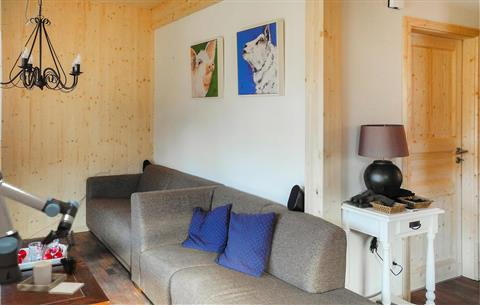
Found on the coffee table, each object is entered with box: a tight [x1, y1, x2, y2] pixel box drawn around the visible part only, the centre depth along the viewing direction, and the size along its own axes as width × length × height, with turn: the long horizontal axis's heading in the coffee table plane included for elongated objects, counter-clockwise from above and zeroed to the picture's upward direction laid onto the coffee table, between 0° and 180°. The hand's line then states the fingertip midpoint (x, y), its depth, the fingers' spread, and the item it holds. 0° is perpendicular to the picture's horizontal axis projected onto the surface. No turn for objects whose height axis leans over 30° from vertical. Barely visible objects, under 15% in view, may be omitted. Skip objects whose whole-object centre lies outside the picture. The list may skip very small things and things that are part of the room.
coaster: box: [48, 281, 85, 296], centre depth 223 cm, size 13×13×1 cm
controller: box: [59, 256, 77, 274], centre depth 248 cm, size 4×12×10 cm, turn 57°
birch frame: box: [16, 273, 68, 293], centre depth 229 cm, size 18×18×3 cm
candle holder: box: [32, 260, 53, 286], centre depth 229 cm, size 10×10×12 cm
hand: (53, 256), depth 238 cm, fingers open, 13 cm apart
